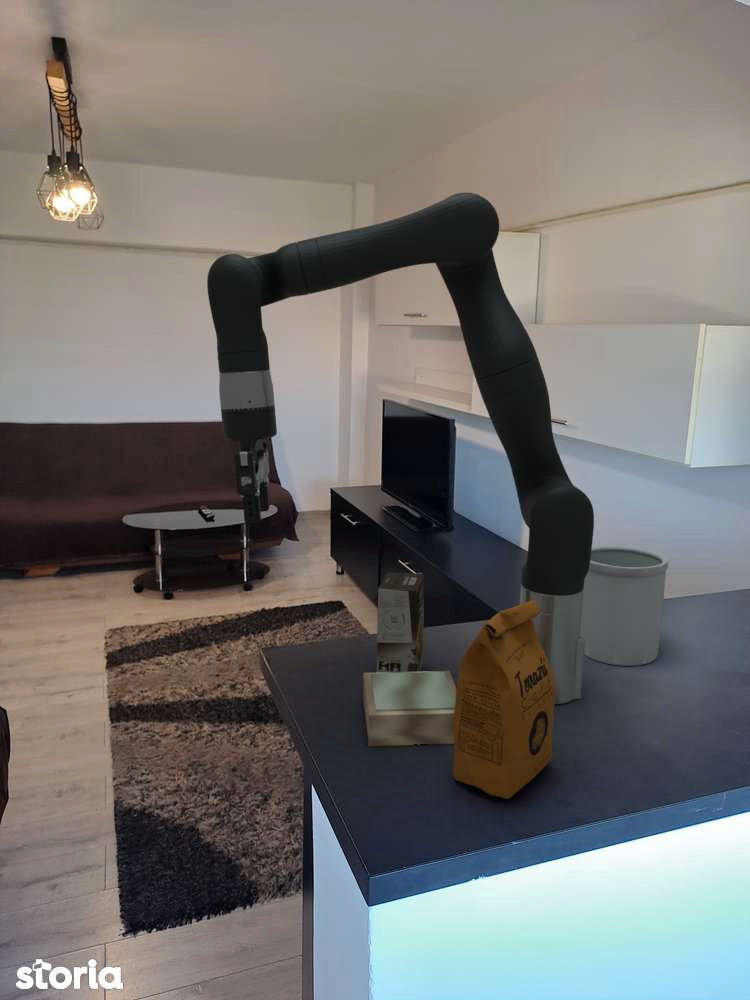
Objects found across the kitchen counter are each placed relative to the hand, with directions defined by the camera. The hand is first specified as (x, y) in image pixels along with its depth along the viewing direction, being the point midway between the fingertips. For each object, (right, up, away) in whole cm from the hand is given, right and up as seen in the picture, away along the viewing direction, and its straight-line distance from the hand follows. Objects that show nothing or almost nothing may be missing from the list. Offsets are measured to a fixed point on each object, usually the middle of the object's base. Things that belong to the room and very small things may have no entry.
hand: (257, 516), depth 109 cm
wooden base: (+22, -29, -1) cm, 37 cm away
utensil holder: (+59, -24, +24) cm, 69 cm away
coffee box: (+21, -26, +14) cm, 36 cm away
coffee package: (+33, -32, -14) cm, 48 cm away
